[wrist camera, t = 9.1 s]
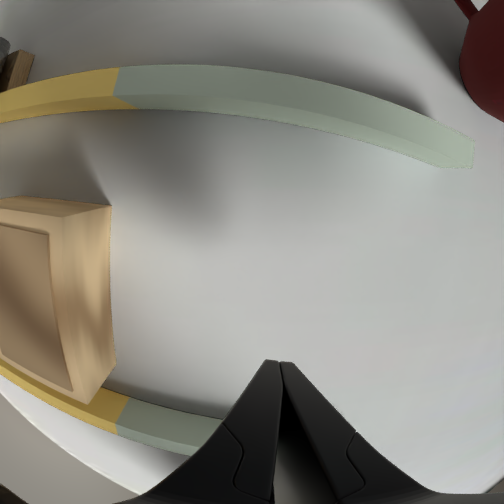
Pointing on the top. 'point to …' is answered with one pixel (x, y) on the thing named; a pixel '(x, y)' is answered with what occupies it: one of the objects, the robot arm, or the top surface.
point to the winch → (13, 67)
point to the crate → (56, 293)
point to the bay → (224, 102)
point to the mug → (484, 55)
